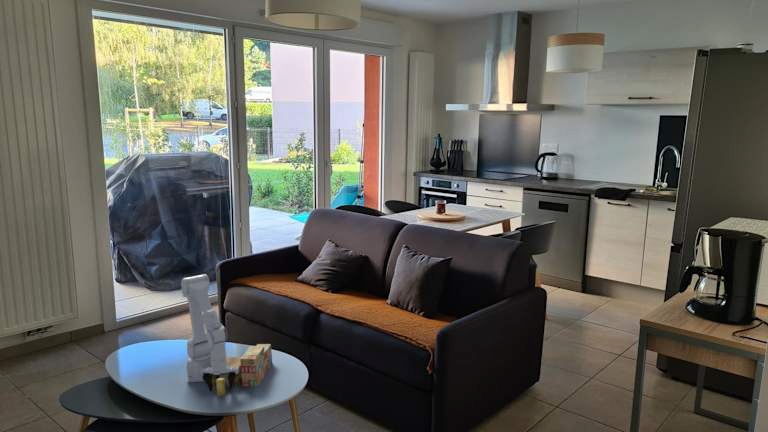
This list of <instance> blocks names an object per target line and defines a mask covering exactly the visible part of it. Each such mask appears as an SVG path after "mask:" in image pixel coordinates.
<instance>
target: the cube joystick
mask: <svg viewBox="0 0 768 432" xmlns="http://www.w3.org/2000/svg"><path fill="white" fill-rule="evenodd" d="M228 375H229V373H222V374H219V378H218V379H217V380H216V395H217V396H218V397H223V396H225V395H226V394H227V393H226V392H227V391H226V387H227V386H228V387H229V381H228ZM233 384H235V380H234V382H233Z"/></svg>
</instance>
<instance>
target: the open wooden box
mask: <svg viewBox="0 0 768 432" xmlns="http://www.w3.org/2000/svg"><path fill="white" fill-rule="evenodd" d="M241 357H242V356H230V357H229V356H228V357H227V356H226V361H227V366H233V367H239V372H238V374H236V376H235V378H234V380H235V381H234V387H239V385H240V383H241V382H242V375H241V362H240V358H241ZM221 374H222V373H221ZM218 378H219V375H214V374H212V383H213V388H217V386H216V380H217V379H218Z"/></svg>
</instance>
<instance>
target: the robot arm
mask: <svg viewBox="0 0 768 432" xmlns="http://www.w3.org/2000/svg"><path fill="white" fill-rule="evenodd" d="M180 286H181V294H182V297H183V298H187V303H188V309H189V315H190V316H189V319H190V323H191V324H190V325H191V330H192V336H191V337H190V338H189V340H187V343H186V347H187V348H186V351H187V357H188V359H187V362H186V375H187V383H196V382H198V383H200V382H204V383H205V384H206V386H207V388H208V390H209V393H212V392H213V391H214V387H213V381H212V374H214V375H219V374H221V373H229V375H228V381H229V386H228V389H229V392H232V391H233V388H234V383H235V381H234V378H235V376H236V374H238V372H239V367H233V366H227V361H226V357H227V351H226V341H227V340H228V333H227V330H226V328H225V326H224V325H223V323H221V321H220V318H219V315H218V313H217V311H216V310H214V309H213V308H212V304H211V300H210V296H209V293H208V292H209V290H210V279H209V276H208V274H206V273H202V274H199V275H193V276H189V277H183V278H182V279H181V282H180ZM233 382H234V383H233Z"/></svg>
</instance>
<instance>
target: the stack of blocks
mask: <svg viewBox="0 0 768 432" xmlns="http://www.w3.org/2000/svg"><path fill="white" fill-rule="evenodd" d="M240 357H241V358H240V362H241V375H242V379H241V386H242V387H246V388H247V387H248V388H249V387H250V388H252V387H255V388H257V387H258V386H259V385H260V383H261V382H262V380H263V378H264V377H265V375H266V373H267V372H268V370H269V369H270V368H271V367H272V364H273V353H272V344H271V343H257V344H256V345H250V346H249V347H248V348H247V350H246V351H245V352H244V354H243V355H242V356H240Z"/></svg>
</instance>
